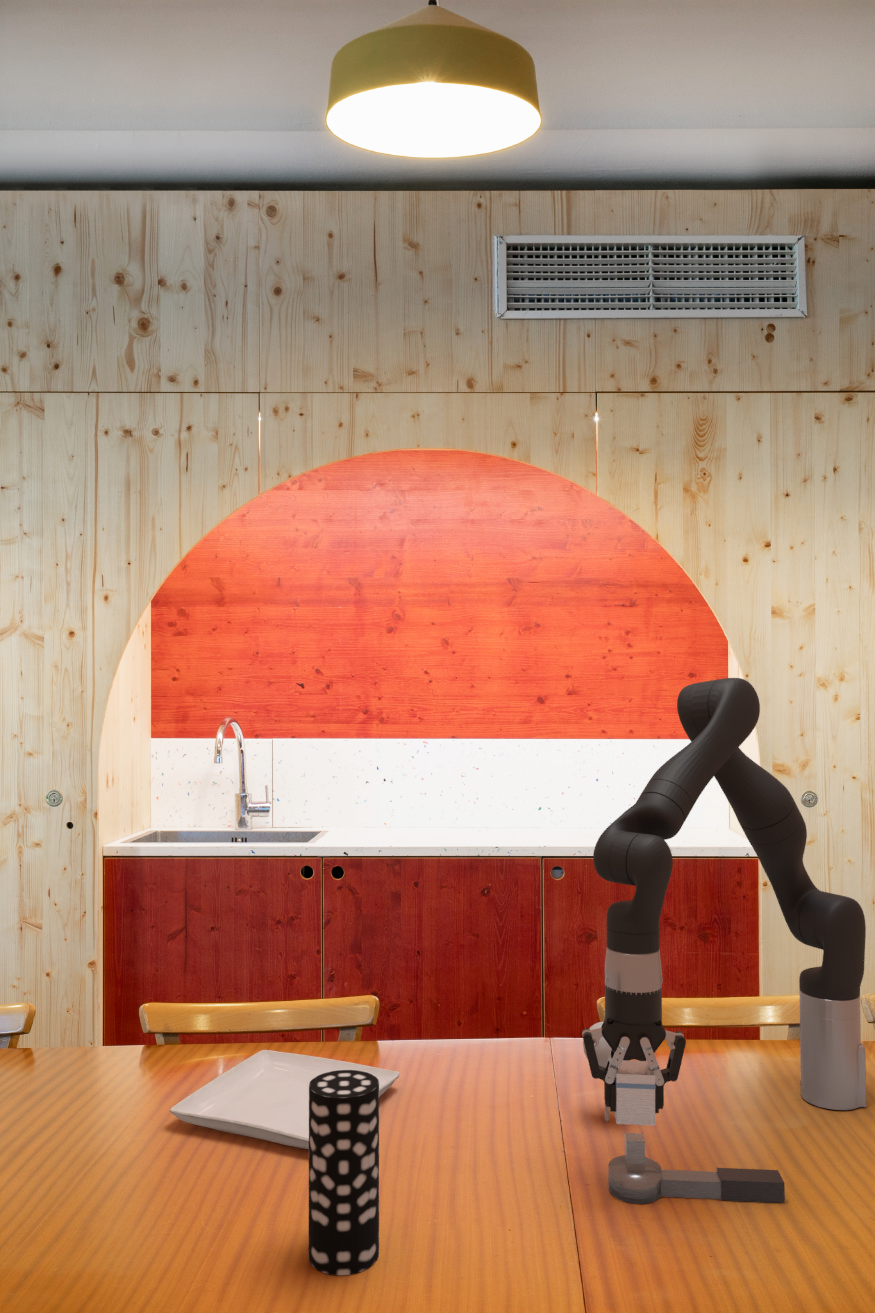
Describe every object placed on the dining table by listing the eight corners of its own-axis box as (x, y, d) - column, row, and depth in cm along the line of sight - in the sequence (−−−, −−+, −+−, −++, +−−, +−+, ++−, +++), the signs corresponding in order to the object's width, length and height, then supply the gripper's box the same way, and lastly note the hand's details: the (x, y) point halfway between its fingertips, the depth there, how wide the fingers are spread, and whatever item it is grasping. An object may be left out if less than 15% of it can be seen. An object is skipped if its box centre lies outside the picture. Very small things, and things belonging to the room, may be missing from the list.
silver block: (650, 1109, 133) (650, 1061, 133) (655, 1126, 128) (655, 1075, 128) (612, 1107, 134) (612, 1059, 134) (616, 1124, 129) (616, 1074, 129)
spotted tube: (310, 1237, 120) (310, 1071, 120) (378, 1233, 120) (378, 1069, 121) (306, 1278, 111) (307, 1099, 112) (379, 1274, 112) (379, 1096, 113)
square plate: (165, 1133, 149) (165, 1107, 149) (263, 1068, 174) (263, 1046, 174) (323, 1166, 138) (323, 1138, 138) (402, 1092, 164) (402, 1068, 164)
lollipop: (630, 1133, 147) (629, 1032, 148) (582, 1128, 149) (581, 1029, 149) (630, 1113, 154) (629, 1016, 155) (584, 1109, 156) (584, 1013, 156)
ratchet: (774, 1183, 132) (773, 1130, 133) (788, 1210, 125) (787, 1155, 126) (606, 1176, 134) (606, 1124, 135) (610, 1203, 127) (610, 1148, 128)
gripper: (683, 975, 135) (683, 1101, 134) (577, 972, 136) (578, 1096, 135) (692, 992, 127) (693, 1125, 127) (580, 988, 128) (581, 1120, 128)
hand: (633, 1109), depth 131 cm, fingers closed on silver block, 5 cm apart
